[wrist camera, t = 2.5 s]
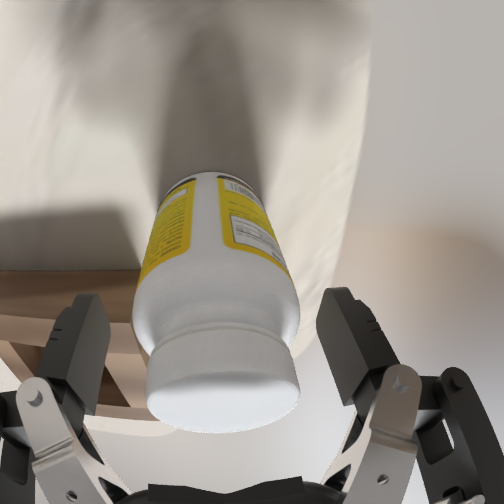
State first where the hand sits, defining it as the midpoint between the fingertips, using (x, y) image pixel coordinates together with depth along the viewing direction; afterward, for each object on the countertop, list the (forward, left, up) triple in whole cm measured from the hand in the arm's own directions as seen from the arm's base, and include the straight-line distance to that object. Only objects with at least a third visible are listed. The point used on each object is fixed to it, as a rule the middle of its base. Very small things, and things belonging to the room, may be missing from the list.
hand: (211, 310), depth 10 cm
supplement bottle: (0, 0, -6) cm, 6 cm away
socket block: (+9, -10, -6) cm, 14 cm away
